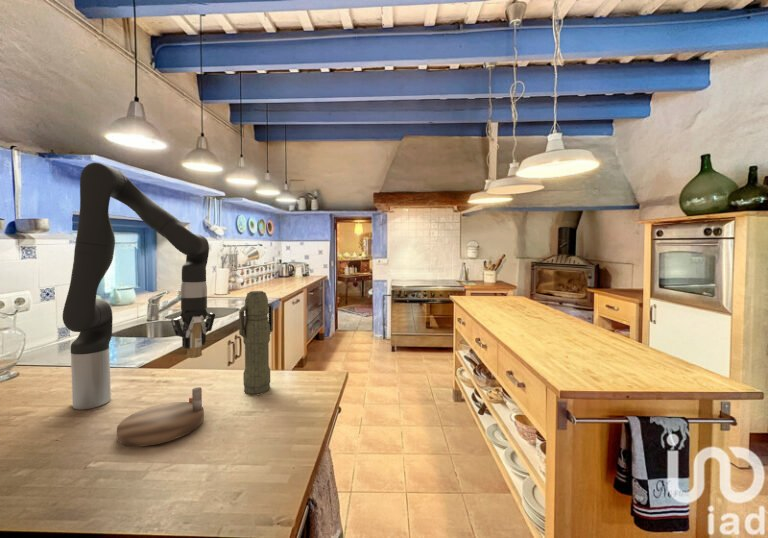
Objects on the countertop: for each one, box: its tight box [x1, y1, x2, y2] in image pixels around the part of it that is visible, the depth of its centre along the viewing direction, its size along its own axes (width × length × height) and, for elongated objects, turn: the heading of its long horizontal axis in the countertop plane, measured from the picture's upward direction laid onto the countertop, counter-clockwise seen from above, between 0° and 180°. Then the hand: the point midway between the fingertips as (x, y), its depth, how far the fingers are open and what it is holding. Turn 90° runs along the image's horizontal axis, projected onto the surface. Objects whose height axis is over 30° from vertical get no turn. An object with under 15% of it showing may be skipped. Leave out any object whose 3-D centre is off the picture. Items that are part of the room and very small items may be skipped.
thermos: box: [238, 290, 274, 396], centre depth 119 cm, size 9×12×35 cm
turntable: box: [116, 386, 205, 447], centre depth 93 cm, size 20×20×8 cm
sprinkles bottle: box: [186, 316, 203, 359], centre depth 112 cm, size 5×5×13 cm
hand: (194, 346), depth 112 cm, fingers closed on sprinkles bottle, 4 cm apart
